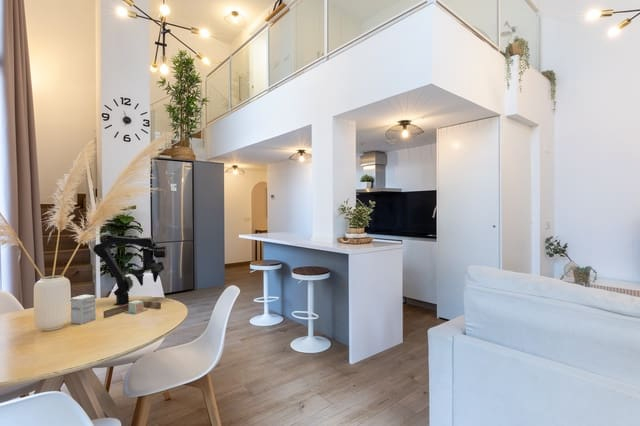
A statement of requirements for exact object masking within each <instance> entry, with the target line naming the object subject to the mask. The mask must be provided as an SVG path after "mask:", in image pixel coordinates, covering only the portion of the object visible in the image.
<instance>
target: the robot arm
mask: <svg viewBox="0 0 640 426" xmlns="http://www.w3.org/2000/svg"><path fill="white" fill-rule="evenodd" d="M115 244H124V245H136V246H138V247H141V248H140V249H139V250H138V252H142V260H141V263H142V266H141V268H135V269H131V272H130V275H132V276H134V277H135V278H136V280H137V281H138V283H139V284H140V286H144V276H145V273H147V272H150V271H151V273H152V278H153V283H157V279H158V278H159V275H160V273H161V272H163V271H164V270H165V266H164V262H163V261H158V262H156V260H155V259H154V258H156V259H161V258H162V259H164V258H167V257H168V250H167V246H158V245H157V244H156V243H155V240H154V237H153V238H152V237H150V236H149V237H126V236H117V235H112V236H110V237H109V238H107V239H106V240H104V241H101V242H100V243H98V244H96V245H94V247H93V253H94V254H96V256H97V257H99V258H100V259H102V260H103V261H104V263H105V264H106V266H107V268H108V269H109V271H110V272H111V274H112V275H113V277H114V278H115V281H116V286H117V289H116V290H115V291H114V292H113V294H114V296H115V297H116V299H115V300H116V301H115V303H113V305H115V306H122V305H125V304H128V303H129V302H131V301H130V300H129V299H130V297H129V296H130V295H129V292H130V291H131V289H133V286H134V280H132V278H131V276H130V275H128V276H127V275H125V274H124V273H123V271H122V269H121V268H120V266H119V265H118V263H117V262H116V261H115V259H114V257H113V256H112V250H111V247H113V246H114V245H115Z"/></svg>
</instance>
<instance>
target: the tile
mask: <svg viewBox="0 0 640 426" xmlns="http://www.w3.org/2000/svg"><path fill="white" fill-rule="evenodd" d="M143 309H144V310H142V311H139V312H136V313H133V312H129V310H128V311H125V312H123V313H124V314H128V313H129V315H137V313H138V314H141V313H143V312H146V311H148V310H149V308H148V309H147V308H143ZM140 312H141V313H140Z"/></svg>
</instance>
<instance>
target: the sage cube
mask: <svg viewBox="0 0 640 426" xmlns="http://www.w3.org/2000/svg"><path fill="white" fill-rule="evenodd" d="M139 300H140V299H136V300H132V301H130V302H129V310H128V311H129V312H133V313H136V312H139V311H142V310H144V309H145V308H144V307H143V301H139Z"/></svg>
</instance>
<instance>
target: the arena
mask: <svg viewBox="0 0 640 426" xmlns="http://www.w3.org/2000/svg"><path fill="white" fill-rule="evenodd" d="M138 300H139V301H143V308H145V307H146V308H145V309H147V308H148V309H153V310H161V309H162V302H161V301H159V302H158V301H152V300H145V299H144V300H143V299H138ZM127 311H129V303H128V304H124V305H118V306H115V307H112V308H109V309H106V310H103V319H107V318H109V317H113V316H115V315H119V314H122V313H124V312H127Z"/></svg>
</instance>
